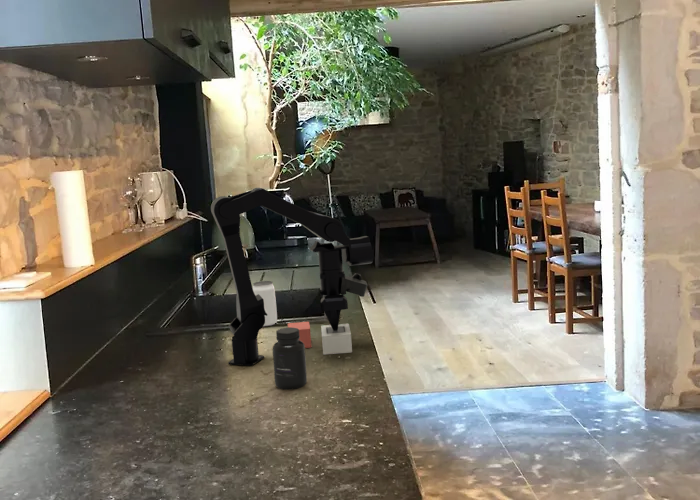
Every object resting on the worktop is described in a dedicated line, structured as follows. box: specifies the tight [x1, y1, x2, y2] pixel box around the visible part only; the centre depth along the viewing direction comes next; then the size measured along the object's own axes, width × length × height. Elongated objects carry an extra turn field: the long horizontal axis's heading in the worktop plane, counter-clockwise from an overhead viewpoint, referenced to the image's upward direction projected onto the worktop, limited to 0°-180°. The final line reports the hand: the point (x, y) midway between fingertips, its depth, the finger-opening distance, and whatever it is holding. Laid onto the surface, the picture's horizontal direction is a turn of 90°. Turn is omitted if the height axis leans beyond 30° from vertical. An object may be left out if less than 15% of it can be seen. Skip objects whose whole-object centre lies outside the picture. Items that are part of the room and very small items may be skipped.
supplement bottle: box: [272, 327, 308, 391], centre depth 146 cm, size 7×7×12 cm
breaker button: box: [327, 327, 344, 334], centre depth 171 cm, size 5×4×3 cm
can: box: [252, 280, 278, 327], centre depth 198 cm, size 6×6×12 cm
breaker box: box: [320, 323, 353, 356], centre depth 171 cm, size 10×7×4 cm
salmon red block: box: [287, 321, 312, 349], centre depth 175 cm, size 7×6×5 cm
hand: (335, 330), depth 170 cm, fingers closed, pressing on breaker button
